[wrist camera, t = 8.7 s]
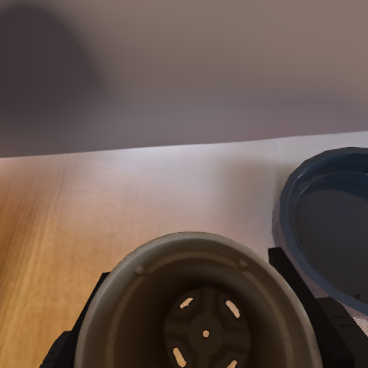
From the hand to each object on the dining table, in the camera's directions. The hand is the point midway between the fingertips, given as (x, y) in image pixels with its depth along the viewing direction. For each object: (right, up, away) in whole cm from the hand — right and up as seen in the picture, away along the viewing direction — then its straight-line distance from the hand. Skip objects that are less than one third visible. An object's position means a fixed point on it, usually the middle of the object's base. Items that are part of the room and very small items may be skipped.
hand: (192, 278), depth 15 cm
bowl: (+18, 0, +12) cm, 22 cm away
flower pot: (+1, -5, +2) cm, 5 cm away
